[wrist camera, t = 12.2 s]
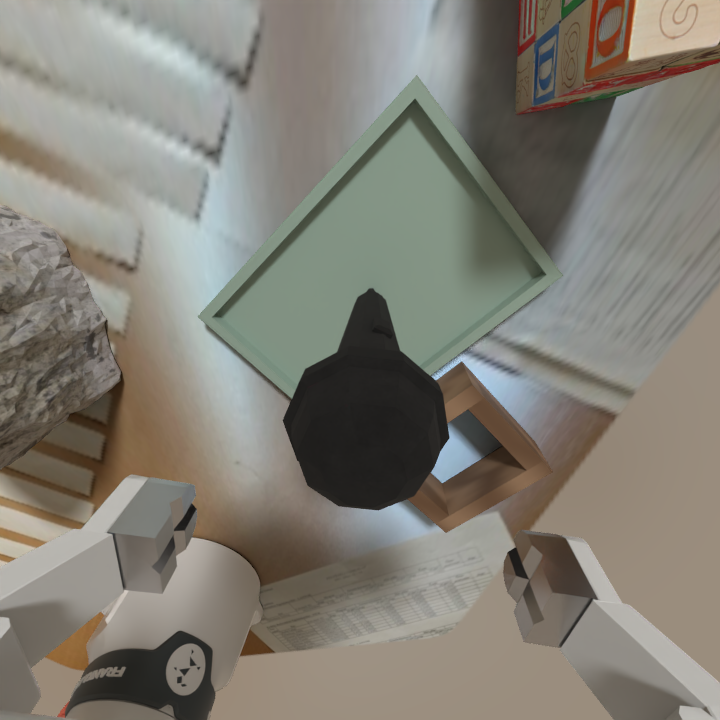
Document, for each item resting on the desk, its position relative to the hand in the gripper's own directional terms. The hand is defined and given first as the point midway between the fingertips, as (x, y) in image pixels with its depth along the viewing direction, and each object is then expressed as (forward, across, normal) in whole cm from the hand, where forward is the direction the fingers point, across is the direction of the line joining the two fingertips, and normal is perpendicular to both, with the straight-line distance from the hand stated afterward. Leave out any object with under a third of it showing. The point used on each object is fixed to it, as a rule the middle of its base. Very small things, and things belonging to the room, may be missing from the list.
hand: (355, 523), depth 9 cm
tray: (+22, 0, 0) cm, 22 cm away
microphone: (+22, 0, 0) cm, 22 cm away
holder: (+22, -9, +12) cm, 27 cm away
